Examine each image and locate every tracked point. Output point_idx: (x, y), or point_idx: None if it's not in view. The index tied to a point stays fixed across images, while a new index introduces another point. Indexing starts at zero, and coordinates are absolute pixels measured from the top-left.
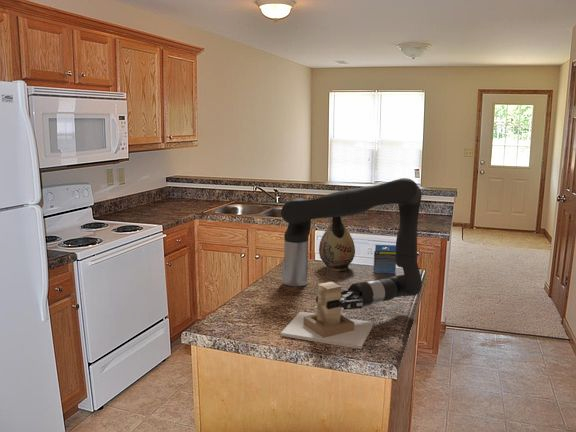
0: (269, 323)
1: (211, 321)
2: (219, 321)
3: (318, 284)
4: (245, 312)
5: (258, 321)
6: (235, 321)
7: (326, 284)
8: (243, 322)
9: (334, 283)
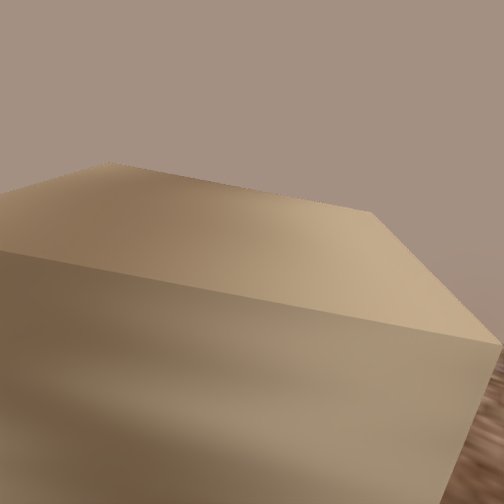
0: (456, 472)
1: (500, 354)
2: (499, 365)
3: (354, 209)
4: None
5: (493, 450)
6: (497, 393)
7: (297, 221)
8: (483, 405)
9: (270, 286)
